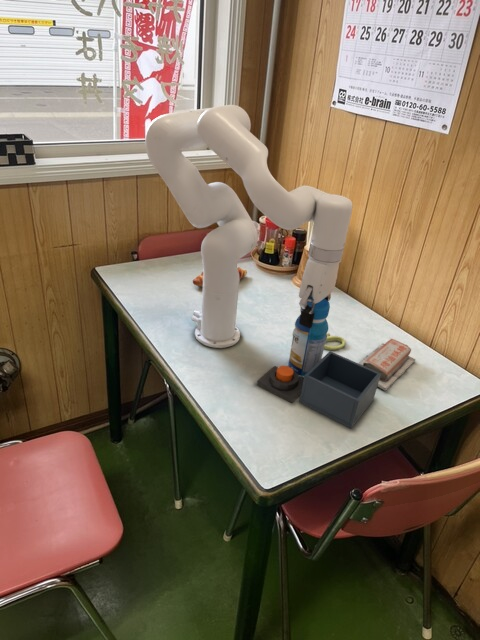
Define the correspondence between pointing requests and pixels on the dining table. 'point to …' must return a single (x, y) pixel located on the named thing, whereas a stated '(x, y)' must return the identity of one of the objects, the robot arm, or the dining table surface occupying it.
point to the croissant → (199, 279)
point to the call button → (284, 373)
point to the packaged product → (389, 361)
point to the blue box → (339, 388)
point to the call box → (281, 385)
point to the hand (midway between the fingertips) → (313, 319)
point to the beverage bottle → (309, 340)
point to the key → (334, 338)
